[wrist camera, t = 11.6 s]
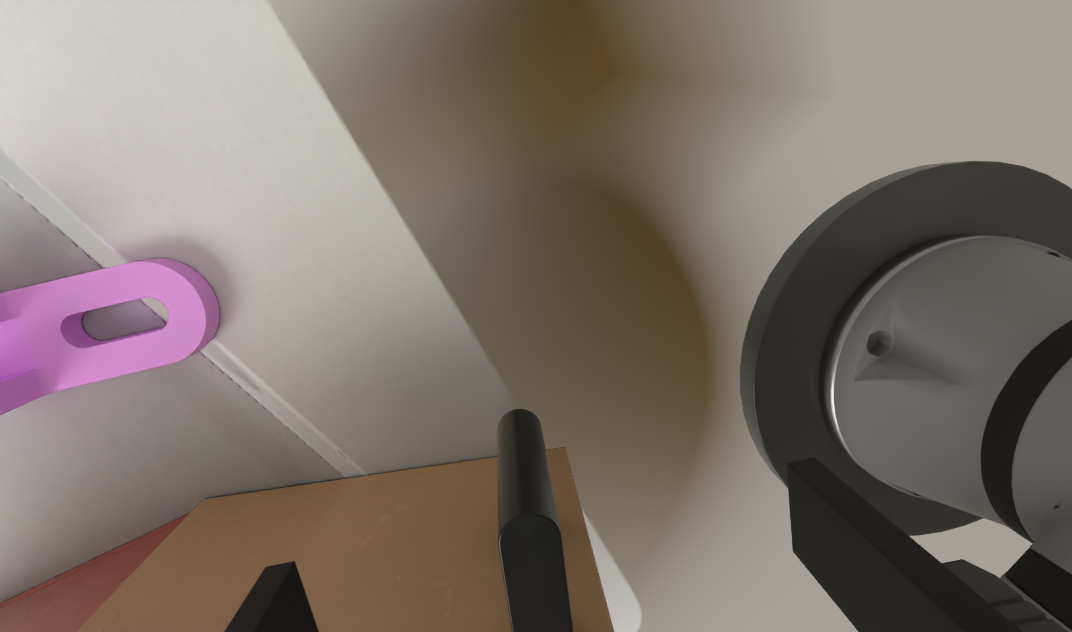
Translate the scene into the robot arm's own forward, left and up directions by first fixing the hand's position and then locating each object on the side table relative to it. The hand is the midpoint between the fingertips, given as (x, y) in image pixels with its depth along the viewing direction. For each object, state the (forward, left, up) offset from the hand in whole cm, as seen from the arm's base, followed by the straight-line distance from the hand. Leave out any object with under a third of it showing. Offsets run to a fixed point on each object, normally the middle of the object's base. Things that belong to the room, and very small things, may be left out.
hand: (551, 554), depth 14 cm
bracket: (+20, -12, -18) cm, 29 cm away
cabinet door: (+10, +1, -17) cm, 20 cm away
